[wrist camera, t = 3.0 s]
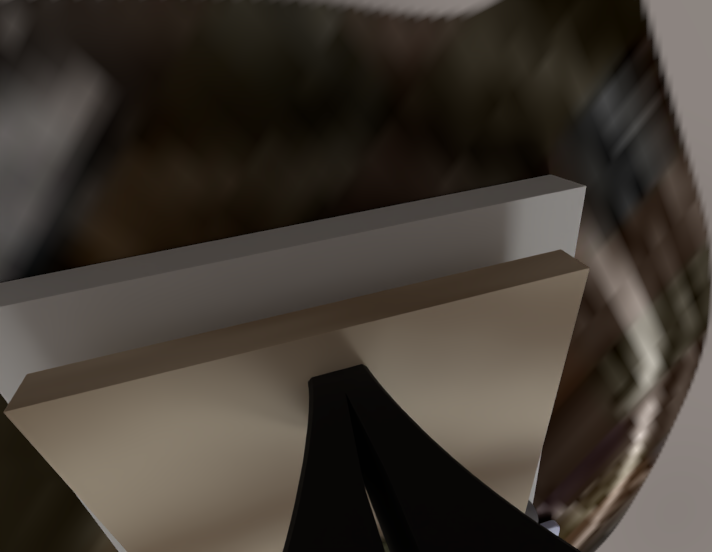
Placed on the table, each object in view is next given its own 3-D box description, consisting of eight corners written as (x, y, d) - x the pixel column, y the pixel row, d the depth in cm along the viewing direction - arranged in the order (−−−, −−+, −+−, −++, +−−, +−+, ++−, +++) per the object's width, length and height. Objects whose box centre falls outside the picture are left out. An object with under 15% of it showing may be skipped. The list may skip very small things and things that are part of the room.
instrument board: (503, 520, 18) (540, 587, 16) (218, 621, 16) (215, 714, 14) (561, 249, 10) (648, 305, 8) (26, 374, 8) (-48, 494, 6)
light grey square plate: (512, 486, 20) (541, 531, 18) (187, 596, 17) (180, 663, 15) (550, 174, 12) (608, 193, 10) (-16, 286, 10) (-82, 340, 8)
